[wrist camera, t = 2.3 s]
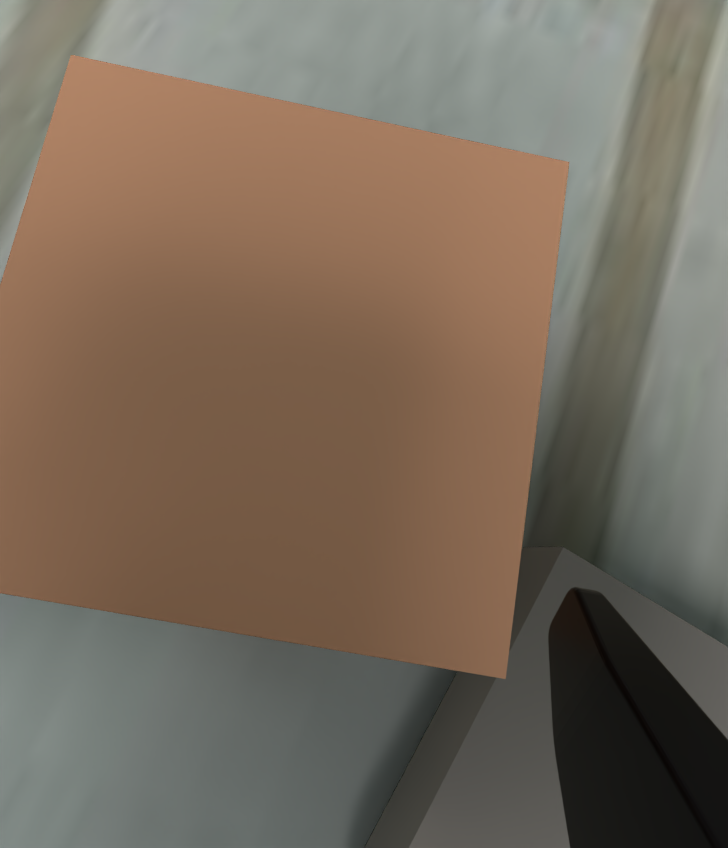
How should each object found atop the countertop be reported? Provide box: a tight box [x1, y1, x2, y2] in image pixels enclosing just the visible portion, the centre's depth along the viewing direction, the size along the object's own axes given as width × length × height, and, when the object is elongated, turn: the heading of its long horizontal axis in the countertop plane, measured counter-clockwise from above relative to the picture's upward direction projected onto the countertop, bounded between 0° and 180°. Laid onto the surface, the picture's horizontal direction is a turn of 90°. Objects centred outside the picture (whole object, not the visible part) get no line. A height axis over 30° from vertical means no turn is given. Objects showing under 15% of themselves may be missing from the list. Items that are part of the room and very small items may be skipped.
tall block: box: [0, 55, 569, 679], centre depth 13 cm, size 6×6×12 cm
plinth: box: [364, 547, 728, 848], centre depth 16 cm, size 10×10×3 cm
